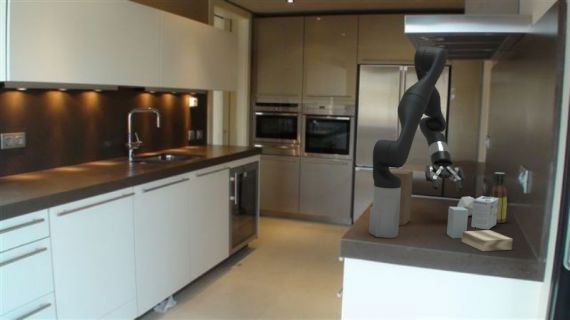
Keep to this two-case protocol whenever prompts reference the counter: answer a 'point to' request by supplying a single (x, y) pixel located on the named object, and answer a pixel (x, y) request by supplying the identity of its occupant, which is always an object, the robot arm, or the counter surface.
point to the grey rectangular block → (457, 221)
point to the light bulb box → (484, 212)
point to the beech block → (487, 240)
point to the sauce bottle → (500, 196)
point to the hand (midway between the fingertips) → (448, 189)
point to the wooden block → (404, 194)
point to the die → (467, 204)
